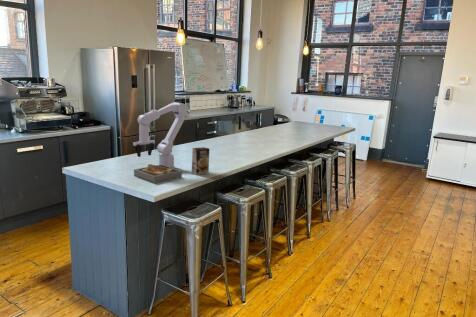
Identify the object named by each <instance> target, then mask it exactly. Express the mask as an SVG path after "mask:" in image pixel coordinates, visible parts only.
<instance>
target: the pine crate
mask: <svg viewBox="0 0 476 317" xmlns="http://www.w3.org/2000/svg"><path fill="white" fill-rule="evenodd" d="M147 167H148V168H146V169H143V170H141V171H142V172H145V173H148V174H150V175H153V176H156V175H161V174H166V173H171V172H173V169H170V168H166V167H161V166H156V165H155V164H150V163H149V164H147Z"/></svg>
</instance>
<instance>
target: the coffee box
mask: <svg viewBox="0 0 476 317" xmlns="http://www.w3.org/2000/svg"><path fill="white" fill-rule="evenodd" d="M191 151H192V153H191V154H192V156H191V157H192V158H191V173H192V174H194V175H195V176H199V175H200V174H201V175H207V173H208V174H210V172H209V171H210V169H209V168H210V148H208V147H205V146H204V147H203V146H202V147H192V150H191Z"/></svg>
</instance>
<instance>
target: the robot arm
mask: <svg viewBox="0 0 476 317" xmlns="http://www.w3.org/2000/svg"><path fill="white" fill-rule="evenodd" d="M187 111H188V109H187V106H186V104H185V103H182V102H177V101H174V102H171V103H169V104H168V105H165V106H163V107H161V108H159V109H158V110H157V109H151V111H149V112H145V113H144V114H141V115H138V117H137V119H136V121H137V123H138V125H139V126H138V130H139V131H138V133H139V134H138V136H139V137H138V138H139V139H138V141H134V142H132V145H133V148H134V149H135V152H136V155H137V157H138V158H141V155H142V153H141V152H142V146H143V145H146V147H147V155H148V156H152V152H153V150H154V147H155V144H156V140H154V139H151V140H150V132H149V131H150V129H149V128H150V126H149V124H151V122H153V121H155V120H158V119H159V118H160V116H162V115H164V114H166V113H169V112H172V113H173V114H174V117H175V119H174V120H173V123H172V124H171V127H170V128H169V130H168V132H167V134H166V136H165V138H164V139H162V140H161V142H160V143H159V144H158V145H157V146H156V151H157V152H158V165H165V166H168V167H171V168H174V169H175V156H174V154H173V153H172V152H173V148H174V144H173V142H174V141H175V139H176V137H177V134H179V132H180V129H181V127H182V126H183V123H184V121H185V120H186V112H187Z"/></svg>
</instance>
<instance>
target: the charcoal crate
mask: <svg viewBox="0 0 476 317" xmlns="http://www.w3.org/2000/svg"><path fill="white" fill-rule="evenodd" d="M156 166H161V167H166V168H170V169H173V172H171V173H166V174H161V175H156V176H153V175H150V174H148V173H145V172H142V171H141V170H143V169H146V168H148V166H146V167H140V168H134V169H133V176H134V177H136V178H138V179H142V180H143V181H144V180H145V181H146V182H149V183H152V184H157V183H162V182H167V181H171V180H175V179H181V178H182V177H183V173H182V172H183V170H180V169H176V168H175V167H174V168H171V167H168V166H165V165H159V164H157V165H156Z"/></svg>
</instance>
